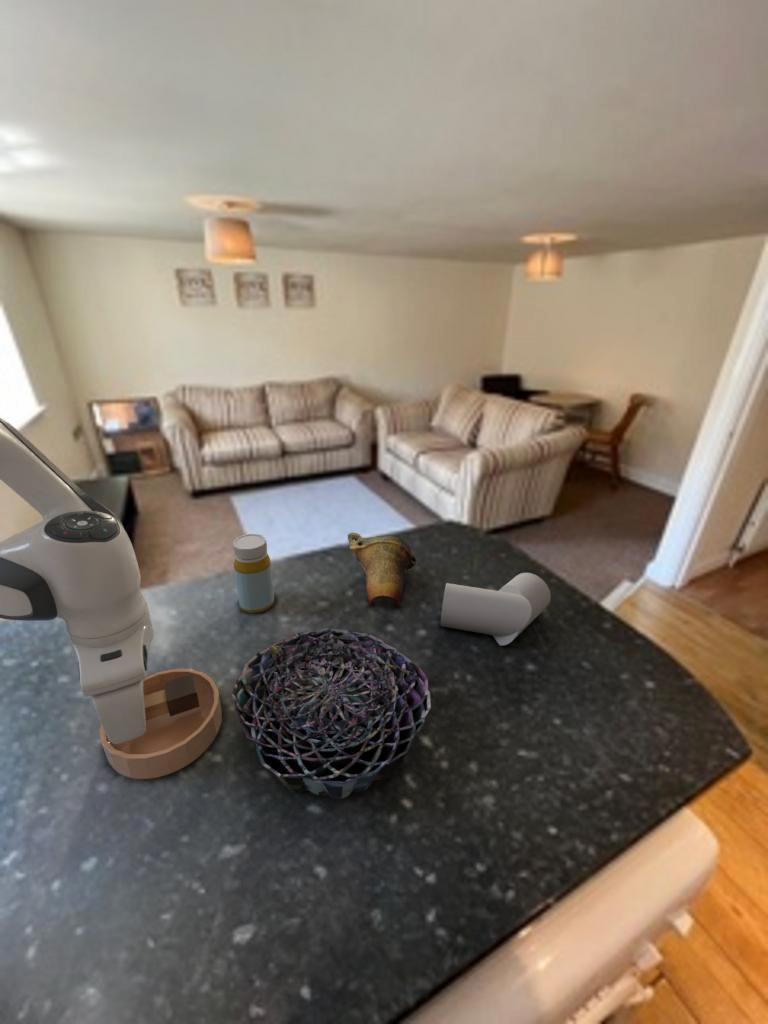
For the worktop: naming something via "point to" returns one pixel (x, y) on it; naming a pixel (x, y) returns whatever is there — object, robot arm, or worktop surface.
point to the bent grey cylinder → (496, 607)
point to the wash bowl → (168, 732)
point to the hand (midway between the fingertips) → (135, 709)
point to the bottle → (253, 573)
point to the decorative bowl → (331, 709)
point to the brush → (172, 698)
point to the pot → (383, 563)
